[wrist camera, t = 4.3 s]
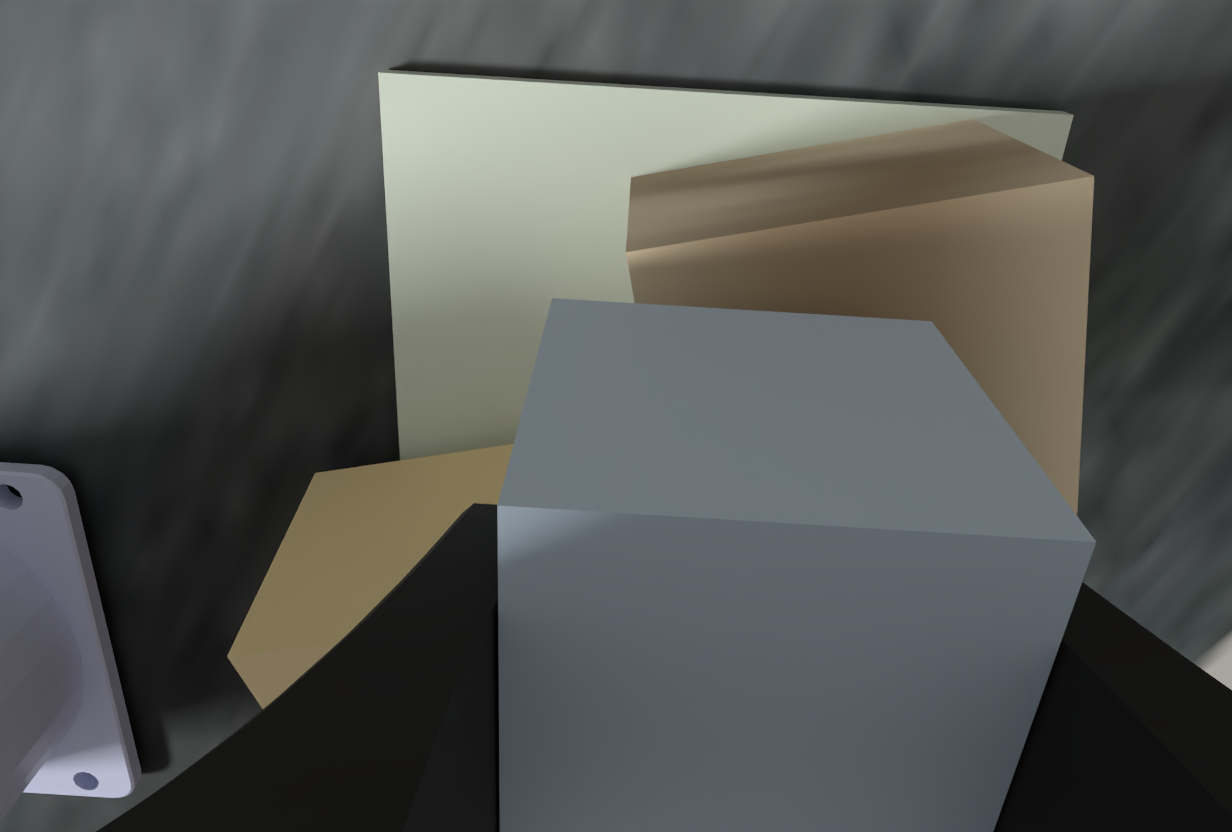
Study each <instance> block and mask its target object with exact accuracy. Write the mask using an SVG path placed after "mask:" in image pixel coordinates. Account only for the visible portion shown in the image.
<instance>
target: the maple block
mask: <svg viewBox="0 0 1232 832" xmlns="http://www.w3.org/2000/svg"><path fill="white" fill-rule="evenodd" d="M1093 192H1094V176H1093V175H1091V174H1089V173H1087V172H1085V171H1082V170H1080V169H1078V168H1076V167H1074V166H1072V165H1070V164H1068V163H1066V162H1063V161H1061V160H1059V159H1057V158H1055V157H1053V156H1051V155H1049V154H1046V153H1044V152H1042V151H1040V150H1038V149H1036V148H1034V147H1032V146H1029V145H1027V144H1025V143H1023V142H1021V141H1019V140H1017V139H1015V138H1012V137H1010V136H1008V135H1006V134H1004V133H1002V132H1000V131H998V130H995V129H993V128H991V127H989V126H987V125H985V124H983V123H981V122H978V121H976V120H974V119H970V120H964V121H958V122H952V123H946V124H940V125H934V126H929V127H923V128H917V129H911V130H905V131H899V132H894V133H888V134H882V135H876V136H870V137H864V138H858V139H853V140H847V141H841V142H835V143H829V144H823V145H817V146H812V147H806V148H800V149H794V150H788V151H782V152H777V153H771V154H765V155H759V156H753V157H747V158H741V159H736V160H730V161H724V162H718V163H712V164H706V165H700V166H695V167H689V168H683V169H677V170H671V171H665V172H660V173H654V174H648V175H642V176H636V177H631V184H630V198H629V213H628V227H627V242H626V256H627V262H628V268H629V274H630V279H631V285H632V291H633V297H634V302H635V303H640V304H656V305H673V306H689V307H706V308H722V309H739V310H755V311H772V312H788V313H805V314H821V315H838V316H854V317H871V318H887V319H904V320H920V321H932V322H933V324H934V325H935V326H936V328H937V329H938V330H939V332H940V333H941V334H942V336H943V337H944V338H945V340H946V341H947V342H948V344H949V345H950V346H951V348H952V349H953V350H954V352H955V353H956V355H957V356H958V357H959V359H960V360H961V361H962V363H963V364H964V365H965V367H966V368H967V369H968V371H969V372H970V373H971V375H972V376H973V377H974V379H975V380H976V381H977V383H978V384H979V385H980V387H981V388H982V389H983V391H984V392H985V393H986V395H987V396H988V397H989V399H990V400H991V401H992V403H993V404H994V405H995V407H996V408H997V409H998V411H999V412H1000V413H1001V415H1002V416H1003V418H1004V419H1005V420H1006V422H1007V423H1008V424H1009V426H1010V427H1011V428H1012V430H1013V431H1014V432H1015V434H1016V435H1017V436H1018V438H1019V439H1020V440H1021V442H1022V443H1023V444H1024V446H1025V447H1026V448H1027V450H1028V451H1029V452H1030V454H1031V455H1032V456H1033V458H1034V459H1035V460H1036V462H1037V463H1038V464H1039V466H1040V467H1041V468H1042V470H1043V471H1044V472H1045V474H1046V475H1047V476H1048V478H1049V479H1050V481H1051V482H1052V483H1053V485H1054V486H1055V487H1056V489H1057V490H1058V491H1059V493H1060V494H1061V495H1062V497H1063V498H1064V499H1065V501H1066V502H1067V503H1068V505H1069V506H1070V507H1071V509H1072V510H1073V511H1074V513H1075V514H1076V515H1077V509H1078V489H1079V470H1080V450H1081V430H1082V410H1083V390H1084V370H1085V351H1086V331H1087V311H1088V291H1089V271H1090V251H1091V232H1092V212H1093Z"/></svg>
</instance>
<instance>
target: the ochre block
mask: <svg viewBox="0 0 1232 832" xmlns="http://www.w3.org/2000/svg"><path fill="white" fill-rule="evenodd" d="M512 448H513V444H509V445H502V446H496V447H489V448H482V449H475V450H468V451H462V452H455V453H448V454H441V455H434V456H427V457H421V458H414V459H407V460H400V461H393V462H387V463H380V464H373V465H366V466H359V467H353V468H346V469H339V470H332V471H325V472H319V473H315V474H314V476H313V478H312V480H311V482H310V485H309V487H308V489H307V491H306V493H305V495H304V497H303V499H302V501H301V503H300V505H299V507H298V510H297V512H296V514H295V516H294V518H293V520H292V522H291V524H290V526H289V528H288V530H287V532H286V535H285V537H284V539H283V541H282V543H281V545H280V547H279V549H278V551H277V553H276V555H275V557H274V560H273V562H272V564H271V566H270V568H269V570H268V572H267V574H266V576H265V578H264V580H263V582H262V585H261V587H260V589H259V591H258V593H257V595H256V597H255V599H254V601H253V603H252V605H251V607H250V610H249V612H248V614H247V616H246V618H245V620H244V622H243V624H242V626H241V628H240V630H239V632H238V635H237V637H236V639H235V641H234V643H233V645H232V647H231V649H230V651H229V653H228V655H227V657H228V659H229V660H230V662H231V663H232V665H233V666H234V668H235V669H236V670H237V672H238V673H239V675H240V676H241V678H242V679H243V681H244V682H245V684H246V685H247V687H248V688H249V690H250V691H251V693H252V694H253V696H254V697H255V699H256V700H257V701H258V703H259V704H260V706H261V707H262V709H264V708H265V707H266V706H268V705H269V704H270V703H271V702H272V701H273V700H275V699H276V698H277V697H278V696H279V695H280V694H282V693H283V692H284V691H285V690H286V689H287V688H288V687H289V686H291V685H292V684H293V683H294V682H295V681H296V680H297V679H298V678H299V677H301V676H302V675H303V674H304V673H305V672H306V671H307V670H308V669H310V668H311V667H312V666H313V665H314V664H315V663H316V662H317V661H318V660H320V659H321V658H322V657H323V656H324V655H325V654H326V653H327V652H329V651H330V650H331V649H332V648H333V647H334V646H335V645H336V644H337V643H339V642H340V641H341V640H342V639H343V638H344V637H345V636H346V635H347V634H348V633H349V632H350V631H351V630H352V629H353V628H354V627H355V626H356V625H357V624H358V623H359V622H360V621H361V620H362V619H363V618H364V617H365V616H366V615H367V614H368V613H369V612H370V611H371V610H372V609H373V608H374V607H375V606H376V605H377V604H378V603H379V602H380V601H381V600H382V599H383V598H384V597H385V596H386V595H387V594H388V593H389V592H390V591H391V590H392V589H393V588H394V587H395V586H396V585H397V584H398V583H399V582H400V581H401V580H402V579H403V578H404V577H405V576H406V575H407V574H408V573H409V572H410V571H411V569H412V568H413V567H414V566H415V565H416V564H417V563H418V562H419V561H420V560H421V559H422V558H423V557H424V555H425V554H426V553H427V552H428V551H429V550H430V549H431V548H432V547H433V546H434V544H435V543H436V542H437V541H438V540H439V539H440V538H441V537H442V535H443V534H444V533H445V532H446V531H447V530H448V529H449V527H450V526H451V525H452V524H453V523H454V522H455V521H456V519H457V518H458V517H459V516H460V515H461V514H462V513H463V512H464V511H465V510H466V509H467V508H469V507H470V506H471V505H472V504H474V503H479V504H496V505H498V501H499V497H500V494H501V490H502V486H503V482H504V478H505V475H506V471H507V467H508V463H509V460H510V456H511V452H512Z"/></svg>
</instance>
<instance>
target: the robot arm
mask: <svg viewBox="0 0 1232 832" xmlns="http://www.w3.org/2000/svg"><path fill="white" fill-rule="evenodd" d="M7 485H9V486H12V487H14V488H15V489H16V490H18V491H19V492H20V494H21V496H22V498H21V497H18V496H16V495H14V494H13V493H12V492H10V490H9V488H8V487H7ZM140 778H141V768H140V764H139V759H138V755H137V751H136V747H135V742H134V738H133V734H132V730H131V726H130V721H129V717H128V713H127V709H126V705H125V700H124V696H123V692H122V688H121V684H120V679H119V675H118V671H117V667H116V663H115V658H114V654H113V650H112V646H111V642H110V637H109V633H108V629H107V625H106V620H105V616H104V612H103V608H102V604H101V599H100V595H99V591H98V587H97V583H96V578H95V574H94V570H93V566H92V562H91V557H90V553H89V549H88V545H87V541H86V536H85V532H84V528H83V524H82V520H81V515H80V511H79V507H78V503H77V498H76V494H75V490H74V488H73V486H72V484H71V482H70V480H69V479H68V478H67V477H66V476H65V475H64V474H63V473H61V472H60V471H58V470H56V469H54V468H53V467H49V466H44V465H37V464H21V463H5V462H0V822H1V820H2V819H3V818H4V816H5V815H6V814H7V812H8V811H9V810H10V808H11V807H12V806H13V804H14V803H15V802H16V800H17V799H18V798H19V796H20V795H21V794H22V792H28V793H44V794H60V795H76V796H92V797H108V798H118V797H125V796H127V795H129V794H131V792H132V791H133V790H134V788H135V786H136V785H137V783H138V782H139V780H140ZM97 832H500V795H499V659H498V524H497V505H496V504H479V503H474V504H472V505H471V506H470V507H469V508H467V509H466V510H465V511H464V512H463V513H462V514H461V515H460V516H459V517H458V518H457V519H456V521H455V522H454V523H453V524H452V525H451V526H450V527H449V529H448V530H447V531H446V532H445V533H444V534H443V535H442V537H441V538H440V539H439V540H438V541H437V542H436V543H435V544H434V546H433V547H432V548H431V549H430V550H429V551H428V552H427V553H426V554H425V555H424V557H423V558H422V559H421V560H420V561H419V562H418V563H417V564H416V565H415V566H414V567H413V568H412V569H411V571H410V572H409V573H408V574H407V575H406V576H405V577H404V578H403V579H402V580H401V581H400V582H399V583H398V584H397V585H396V586H395V587H394V588H393V589H392V590H391V591H390V592H389V593H388V594H387V595H386V596H385V597H384V598H383V599H382V600H381V601H380V602H379V603H378V604H377V605H376V606H375V607H374V608H373V609H372V610H371V611H370V612H369V613H368V614H367V615H366V616H365V617H364V618H363V619H362V620H361V621H360V622H359V623H358V624H357V625H356V626H355V627H354V628H353V629H352V630H351V631H350V632H349V633H348V634H347V635H346V636H345V637H344V638H343V639H342V640H341V641H340V642H339V643H337V644H336V645H335V646H334V647H333V648H332V649H331V650H330V651H329V652H327V653H326V654H325V655H324V656H323V657H322V658H321V659H320V660H318V661H317V662H316V663H315V664H314V665H313V666H312V667H311V668H310V669H308V670H307V671H306V672H305V673H304V674H303V675H302V676H301V677H299V678H298V679H297V680H296V681H295V682H294V683H293V684H292V685H291V686H289V687H288V688H287V689H286V690H285V691H284V692H283V693H282V694H280V695H279V696H278V697H277V698H276V699H275V700H273V701H272V702H271V703H270V704H269V705H268V706H266V707H265V708H264V709H263V710H261V711H260V712H259V713H258V714H257V715H255V716H254V717H253V718H252V719H250V720H249V721H248V722H247V723H246V724H244V725H243V726H242V727H241V728H239V729H238V730H237V731H236V732H234V733H233V734H232V735H231V736H229V737H228V738H227V739H226V740H224V741H223V742H222V743H221V744H219V745H218V746H217V747H215V748H214V749H213V750H211V751H210V752H209V753H207V754H206V755H205V756H203V757H202V758H201V759H199V760H198V761H197V762H195V763H194V764H193V765H191V766H190V767H189V768H188V769H186V770H185V771H184V772H182V773H181V774H180V775H178V776H177V777H176V778H174V779H173V780H172V781H170V782H169V783H167V784H166V785H165V786H163V787H162V788H161V789H159V790H158V791H156V792H155V793H153V794H152V795H151V796H149V797H148V798H146V799H145V800H143V801H142V802H140V803H139V804H138V805H136V806H135V807H133V808H132V809H130V810H129V811H127V812H125V813H124V814H122V815H121V816H119V817H118V818H116V819H115V820H113V821H112V822H110V823H109V824H107V825H106V826H104V827H103V828H101V829H100V830H98V831H97ZM993 832H1232V690H1230V689H1229V688H1228V687H1226V686H1225V685H1223V684H1222V683H1220V682H1219V681H1218V680H1216V679H1215V678H1213V677H1212V676H1211V675H1209V674H1208V673H1206V672H1205V671H1204V670H1202V669H1201V668H1199V667H1198V666H1196V665H1195V664H1194V663H1192V662H1191V661H1190V660H1188V659H1187V658H1185V657H1184V656H1183V655H1181V654H1180V653H1178V652H1177V651H1176V650H1174V649H1173V648H1171V647H1170V646H1169V645H1167V644H1166V643H1165V642H1163V641H1162V640H1160V639H1159V638H1158V637H1156V636H1155V635H1154V634H1152V633H1151V632H1149V631H1148V630H1147V629H1145V628H1144V627H1143V626H1141V625H1140V624H1139V623H1137V622H1136V621H1134V620H1133V619H1132V618H1130V617H1129V616H1128V615H1126V614H1125V613H1124V612H1122V611H1121V610H1119V609H1118V608H1117V607H1115V606H1114V605H1113V604H1111V603H1110V602H1109V601H1107V600H1106V599H1105V598H1103V597H1102V596H1100V595H1099V594H1098V593H1096V592H1095V591H1094V590H1092V589H1091V588H1090V587H1088V586H1087V585H1085V584H1084V583H1083V582H1082V584H1081V587H1080V590H1079V593H1078V595H1077V598H1076V601H1075V604H1074V607H1073V609H1072V612H1071V615H1070V618H1069V621H1068V623H1067V626H1066V629H1065V632H1064V635H1063V637H1062V640H1061V643H1060V646H1059V649H1058V651H1057V654H1056V657H1055V660H1054V663H1053V666H1052V668H1051V671H1050V674H1049V677H1048V680H1047V682H1046V685H1045V688H1044V691H1043V694H1042V696H1041V699H1040V702H1039V705H1038V708H1037V710H1036V713H1035V716H1034V719H1033V722H1032V725H1031V727H1030V730H1029V733H1028V736H1027V739H1026V741H1025V744H1024V747H1023V750H1022V753H1021V755H1020V758H1019V761H1018V764H1017V767H1016V769H1015V772H1014V775H1013V778H1012V781H1011V783H1010V786H1009V789H1008V792H1007V795H1006V798H1005V800H1004V803H1003V806H1002V809H1001V812H1000V814H999V817H998V820H997V823H996V826H995V828H994V831H993Z"/></svg>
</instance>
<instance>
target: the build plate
mask: <svg viewBox="0 0 1232 832" xmlns="http://www.w3.org/2000/svg"><path fill="white" fill-rule="evenodd" d="M378 75H379V93H380V110H381V128H382V146H383V164H384V182H385V200H386V218H387V236H388V254H389V272H390V290H391V307H392V325H393V343H394V361H395V379H396V397H397V415H398V433H399V451H400V460H407V459H414V458H421V457H427V456H434V455H441V454H448V453H455V452H462V451H468V450H475V449H482V448H489V447H496V446H502V445H509V444H514V441H515V437H516V433H517V429H518V425H519V422H520V418H521V414H522V410H523V406H524V403H525V399H526V395H527V391H528V388H529V384H530V380H531V376H532V372H533V369H534V365H535V361H536V357H537V353H538V350H539V346H540V342H541V338H542V335H543V331H544V327H545V323H546V319H547V316H548V312H549V308H550V304H551V300H552V298H557V299H574V300H590V301H607V302H623V303H635V302H634V297H633V291H632V285H631V279H630V274H629V268H628V262H627V256H626V242H627V227H628V213H629V198H630V184H631V177H636V176H642V175H648V174H654V173H660V172H665V171H671V170H677V169H683V168H689V167H695V166H700V165H706V164H712V163H718V162H724V161H730V160H736V159H741V158H747V157H753V156H759V155H765V154H771V153H777V152H782V151H788V150H794V149H800V148H806V147H812V146H817V145H823V144H829V143H835V142H841V141H847V140H853V139H858V138H864V137H870V136H876V135H882V134H888V133H894V132H899V131H905V130H911V129H917V128H923V127H929V126H934V125H940V124H946V123H952V122H958V121H964V120H970V119H974V120H976V121H978V122H981V123H983V124H985V125H987V126H989V127H991V128H993V129H995V130H998V131H1000V132H1002V133H1004V134H1006V135H1008V136H1010V137H1012V138H1015V139H1017V140H1019V141H1021V142H1023V143H1025V144H1027V145H1029V146H1032V147H1034V148H1036V149H1038V150H1040V151H1042V152H1044V153H1046V154H1049V155H1051V156H1053V157H1055V158H1057V159H1059V160H1061V161H1062V158H1063V154H1064V150H1065V146H1066V142H1067V139H1068V135H1069V131H1070V127H1071V123H1072V120H1073V116H1074V115H1072V114H1069V113H1067V112H1064V111H1054V110H1037V109H1021V108H1004V107H988V106H972V105H955V104H939V103H923V102H906V101H890V100H873V99H857V98H841V97H824V96H808V95H791V94H775V93H759V92H742V91H726V90H710V89H693V88H677V87H660V86H644V85H628V84H611V83H595V82H579V81H562V80H546V79H529V78H513V77H497V76H480V75H464V74H448V73H431V72H415V71H398V70H383V71H381V72H379V73H378Z"/></svg>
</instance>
